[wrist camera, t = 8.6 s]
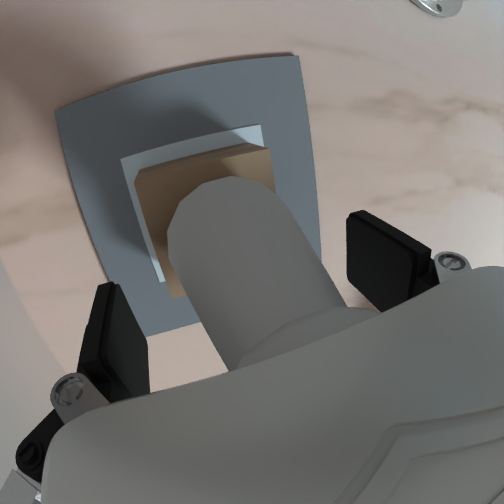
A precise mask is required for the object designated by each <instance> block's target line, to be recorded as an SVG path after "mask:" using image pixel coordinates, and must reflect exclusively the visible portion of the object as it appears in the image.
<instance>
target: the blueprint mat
mask: <svg viewBox="0 0 504 504" xmlns="http://www.w3.org/2000/svg"><path fill="white" fill-rule="evenodd" d="M55 116H56V120H57V125H58V129H59V134H60V138H61V142H62V146H63V150H64V154H65V158H66V161H67V165H68V168H69V172H70V175H71V179H72V182H73V185H74V188H75V192H76V195H77V198H78V201H79V204H80V207H81V210H82V213H83V215H84V218H85V221H86V224H87V227H88V229H89V232H90V235H91V237H92V240H93V242H94V245H95V247H96V250H97V252H98V255H99V257H100V260H101V262H102V264H103V267H104V269H105V271H106V274H107V276H108V278H109V280H110V282H111V281H113V282H114V283H115V284H119V285H120V286H121V288H122V290H123V293H124V295H125V297H126V299H127V301H128V304H129V306H130V308H131V310H132V312H133V314H134V316H135V318H136V320H137V322H138V324H139V326H140V328H141V330H142V332H143V334H144V336H145V337H147V336H151V335H155V334H159V333H162V332H166V331H170V330H173V329H177V328H180V327H184V326H187V325H191V324H194V323H198V322H201V321H200V319H199V317H198V315H197V313H196V311H195V310H194V308H193V306H192V304H191V302H190V300H189V298H188V296H187V295H184V296H181V297H177V298H174V299H172V297H171V294H170V292H169V289H168V286H167V284H166V281H165V278H164V275H163V273H162V270H161V267H160V264H159V261H158V259H157V256H156V253H155V250H154V247H153V244H152V241H151V238H150V235H149V232H148V229H147V225H146V222H145V219H144V216H143V213H142V209H141V206H140V203H139V199H138V196H137V193H136V189H135V186H134V181H135V178H136V176H137V174H138V172H139V169H143V168H146V167H149V166H153V165H156V164H160V163H163V162H167V161H171V160H174V159H178V158H182V157H186V156H190V155H193V154H197V153H202V152H206V151H210V150H214V149H219V148H223V147H228V146H232V145H237V144H242V143H247V142H249V143H252V144H256V145H259V146H263V147H266V148H269V149H270V155H271V162H272V168H273V175H274V182H275V189H276V195H277V196H278V197H279V198H281V199H282V200H283V201H284V203H285V205H286V206H287V208H288V209H289V211H290V212H291V214H292V215H293V217H294V219H295V220H296V222H297V223H298V225H299V227H300V228H301V230H302V231H303V233H304V235H305V236H306V238H307V239H308V241H309V243H310V244H311V246H312V248H313V249H314V251H315V253H316V254H317V256H318V258H319V259H320V261H321V243H320V227H319V214H318V201H317V190H316V179H315V169H314V160H313V151H312V142H311V134H310V126H309V119H308V111H307V104H306V98H305V91H304V85H303V78H302V72H301V66H300V61H299V56H281V57H267V58H256V59H246V60H238V61H230V62H223V63H216V64H210V65H204V66H199V67H194V68H188V69H184V70H179V71H174V72H170V73H166V74H161V75H157V76H153V77H150V78H146V79H142V80H139V81H135V82H132V83H128V84H125V85H122V86H119V87H116V88H112V89H109V90H106V91H104V92H101V93H98V94H95V95H92V96H90V97H87V98H84V99H82V100H79V101H77V102H74V103H72V104H69V105H67V106H64V107H62V108H60V109H57V110H55ZM321 262H322V261H321Z"/></svg>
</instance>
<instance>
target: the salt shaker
mask: <svg viewBox="0 0 504 504" xmlns="http://www.w3.org/2000/svg"><path fill="white" fill-rule="evenodd" d="M167 238H168V254H169V260H170V262H171V265H172V267H173V269H174V271H175V273H176V275H177V277H178V279H179V281H180V283H181V285H182V286H183V288H184V290H185V292H186V294H187V296H188V298H189V300H190V302H191V304H192V306H193V308H194V310H195V311H196V313H197V315H198V317H199V319H200V321H201V323H202V324H203V326H204V328H205V330H206V332H207V333H208V335H209V337H210V339H211V341H212V342H213V344H214V346H215V348H216V350H217V351H218V353H219V355H220V356H221V358H222V360H223V362H224V363H225V365H226V367H227V369H228V370H229V371H233V370H236V369H239V368H242V367H245V366H248V365H251V364H254V363H257V362H260V361H263V360H266V359H269V358H272V357H275V356H278V355H280V354H283V353H286V352H289V351H292V350H294V349H297V348H300V347H302V346H305V345H307V344H310V343H313V342H315V341H318V340H320V339H323V338H325V337H328V336H330V335H333V334H335V333H337V332H340V331H342V330H344V329H347V328H349V327H351V326H354V325H356V324H358V323H360V322H363V321H365V320H367V319H369V318H372V317H374V316H376V315H378V314H379V313H377V312H375V311H372V310H369V309H366V308H351V307H347V305H346V303H345V302H344V300H343V298H342V297H341V295H340V293H339V291H338V290H337V288H336V286H335V284H334V283H333V281H332V279H331V278H330V276H329V274H328V273H327V271H326V269H325V268H324V266H323V264H322V262H321V261H320V259H319V258H318V256H317V254H316V253H315V251H314V249H313V248H312V246H311V244H310V243H309V241H308V239H307V238H306V236H305V235H304V233H303V231H302V230H301V228H300V227H299V225H298V223H297V222H296V220H295V219H294V217H293V215H292V214H291V212H290V211H289V209H288V208H287V206H286V205H285V203H284V201H283V200H282V199H281V198H279V197H278V196H277V195H276V194H275V193H273V192H272V191H271V190H270V189H268V188H267V187H266V186H265V185H264V184H262V183H260V182H256V181H252V180H248V179H243V178H239V177H235V176H229V177H225V178H221V179H217V180H213V181H210V182H206V183H202V184H201V185H200V186H199V187H197V188H196V189H195V190H194V191H192V192H191V193H190V194H189V195H188V196H186V197H185V198H184V199H183V200H182V201H180V203H179V205H178V207H177V209H176V212H175V214H174V216H173V218H172V221H171V223H170V225H169V228H168V230H167Z"/></svg>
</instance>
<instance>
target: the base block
mask: <svg viewBox="0 0 504 504" xmlns="http://www.w3.org/2000/svg"><path fill="white" fill-rule="evenodd" d="M229 176H235V177H239V178H243V179H248V180H252V181H256V182H260V183H262V184H264V185H265V186H266V187H267V188H268V189H270V190H271V191H272V192H273V193H275V194H276V189H275V182H274V175H273V168H272V162H271V155H270V149H269V148H266V147H263V146H259V145H256V144H252V143H249V142H247V143H242V144H237V145H232V146H228V147H223V148H219V149H214V150H210V151H206V152H202V153H197V154H193V155H190V156H186V157H182V158H178V159H174V160H171V161H167V162H163V163H160V164H156V165H153V166H149V167H146V168H143V169H139V172H138V174H137V176H136V178H135V181H134V186H135V189H136V193H137V196H138V199H139V203H140V206H141V209H142V213H143V216H144V219H145V222H146V225H147V229H148V232H149V235H150V238H151V241H152V244H153V247H154V250H155V253H156V256H157V259H158V261H159V264H160V267H161V270H162V273H163V275H164V278H165V281H166V284H167V286H168V289H169V292H170V294H171V297H172V299H174V298H177V297H181V296H184V295H187V294H186V292H185V290H184V288H183V286H182V285H181V283H180V281H179V279H178V277H177V275H176V273H175V271H174V269H173V267H172V265H171V262H170V260H169V254H168V238H167V230H168V228H169V225H170V223H171V221H172V218H173V216H174V214H175V212H176V209H177V207H178V205H179V203H180V201H182V200H183V199H184V198H185V197H186V196H188V195H189V194H190V193H191V192H192V191H194V190H195V189H196V188H197V187H199V186H200V185H201V184H202V183H206V182H210V181H213V180H217V179H221V178H225V177H229Z"/></svg>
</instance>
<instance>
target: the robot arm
mask: <svg viewBox="0 0 504 504" xmlns="http://www.w3.org/2000/svg"><path fill="white" fill-rule="evenodd" d="M411 1H412V2H413V3H415V4H416V5H417V6H418V7H420V8H421V9H423V10H424V11H426V12H427V13H429V14H432V15H434V16H437V17H452V16H455V15H457V14H458V13H459V12H460V9H461V7H462V3H463V1H466V0H411ZM346 242H347V278H348V280H349V282H350V283H351V284H352V285H353V286H354V287H355V288H356V289H358V290H359V291H360V292H361V293H362V294H363V295H364V296H365V297H366V298H367V299H368V300H369V301H370V302H371V303H372V304H373V305H374V306H375V307H376V308H377V309H378V310H379V311H380V312H381V313H380V314H378V315H376V316H374V317H372V318H369V319H367V320H365V321H363V322H360V323H358V324H356V325H354V326H351V327H349V328H347V329H344V330H342V331H340V332H337V333H335V334H333V335H330V336H328V337H325V338H323V339H320V340H318V341H315V342H313V343H310V344H307V345H305V346H302V347H300V348H297V349H294V350H292V351H289V352H286V353H283V354H280V355H278V356H275V357H272V358H269V359H266V360H263V361H260V362H257V363H254V364H251V365H248V366H245V367H242V368H239V369H236V370H233V371H229V372H226V373H223V374H219V375H216V376H213V377H209V378H206V379H202V380H199V381H195V382H192V383H188V384H184V385H180V386H176V387H172V388H169V389H164V390H160V391H156V392H153V393H150V384H149V366H148V345H147V341H146V338H145V336H144V334H143V332H142V330H141V328H140V326H139V324H138V322H137V320H136V318H135V316H134V314H133V312H132V310H131V308H130V306H129V304H128V301H127V299H126V297H125V295H124V293H123V290H122V288H121V286H120V285H119V284H115V283H114V282H113V281H111V282H108V283H104V284H101V285H98V287H97V291H96V294H95V298H94V302H93V306H92V310H91V313H90V317H89V322H88V325H87V326H86V329H85V333H84V338H83V342H82V347H81V351H80V356H79V361H78V367H77V372H76V373H70V374H67V375H65V376H63V377H62V378H60V379H59V380H58V381H57V382H56V383H55V385H54V386H53V388H52V391H51V394H50V400H51V403H52V405H53V407H54V409H53V410H52V411H51V412H50V413H49V414H48V415H47V416H46V418H44V419H43V421H41V423H40V424H38V426H37V427H36V428H35V429H34V430H33V431H32V432H31V433H30V434H29V435H28V436H27V437H26V438H25V439H24V440H23V441H22V442H21V444H20V445H19V446H18V449H17V451H16V464H17V466H18V469H17V471H15V470H14V469H12V471H11V473H10V474H9V476H8V478H7V480H6V482H5V483H4V485H3V487H2V489H1V491H0V504H504V267H500V266H486V267H479V268H475V269H471V266H470V264H469V262H468V260H467V259H466V258H465V257H464V256H462V255H460V254H458V253H454V252H441V253H438V254H437V255H436V256H435V257H434V260H433V259H431V258H430V257H431V251H432V249H430V248H428V247H427V246H425V245H424V244H422V243H420V242H419V241H417V240H415V239H414V238H412V237H410V236H409V235H407V234H405V233H404V232H402V231H400V230H398V229H397V228H395V227H393V226H391V225H390V224H388V223H386V222H384V221H383V220H381V219H379V218H377V217H376V216H374V215H372V214H370V213H368V212H366V211H365V210H360V211H357V212H353V213H350V214H349V217H348V218H347V219H346Z"/></svg>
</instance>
